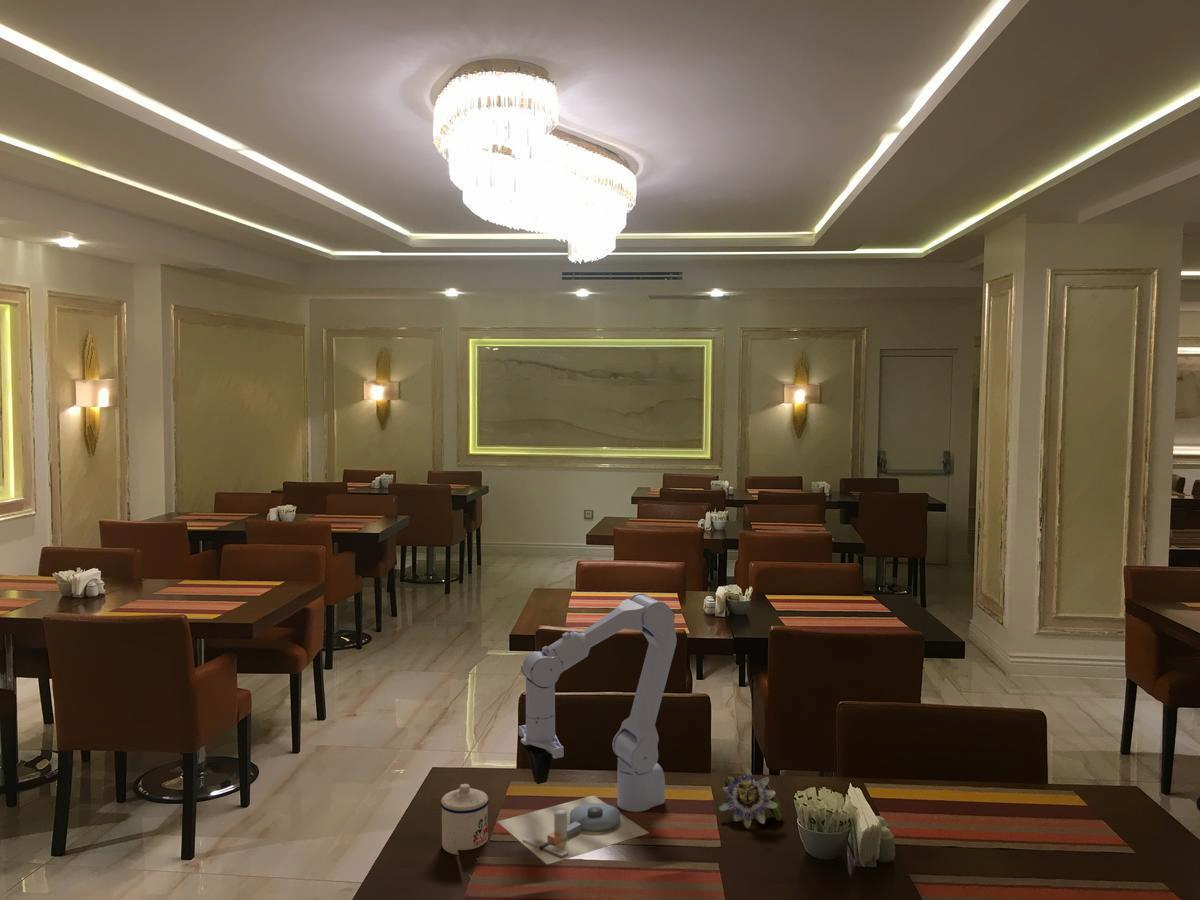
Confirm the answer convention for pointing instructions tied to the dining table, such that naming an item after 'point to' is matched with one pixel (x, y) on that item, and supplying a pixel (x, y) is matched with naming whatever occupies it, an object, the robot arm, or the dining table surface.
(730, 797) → the passion flower
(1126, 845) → the dining table surface
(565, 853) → the cream flat board
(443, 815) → the teacup with lid
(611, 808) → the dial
